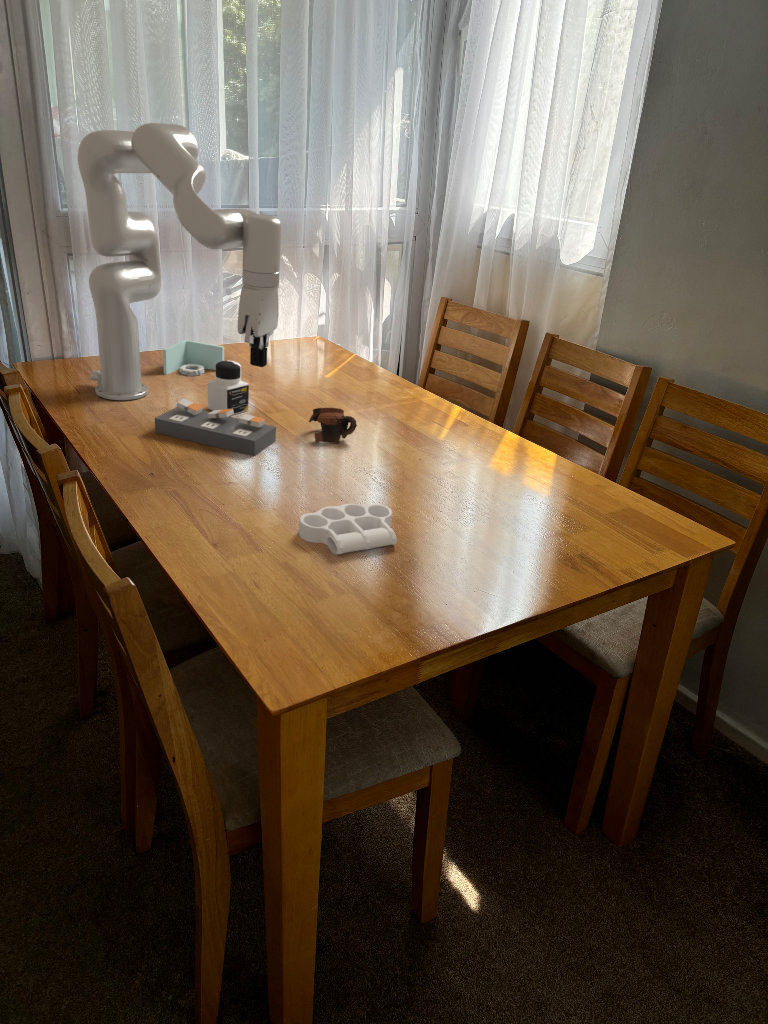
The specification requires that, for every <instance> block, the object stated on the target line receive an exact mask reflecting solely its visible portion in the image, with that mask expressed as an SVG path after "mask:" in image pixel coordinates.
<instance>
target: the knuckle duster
mask: <svg viewBox="0 0 768 1024" xmlns="http://www.w3.org/2000/svg"><path fill="white" fill-rule="evenodd" d="M392 519H393V510H392V509H391V508H390V507H389V506H386V505H385V504H381V503H375V502H373V503H369V504H359V503H344V504H341V505H337V506H335V505H334V506H332V505H327V506H325V507H322V508H321V507H320V509H319V510H317V511H315V512H310V513H304V514H301V515H300V517H299V524H298V535H299V537H300V538H301V539H302V540H304V541H306V542H309V543H314V544H315V543H317V544H320V543H321V544H324V545H326V546H327V547H328V548H329V551H330V552H331V553H332V554H334V555H342V554H347V553H353V552H358V551H359V552H360V551H365V550H370V549H375V548H381V547H385V546H387V547H388V546H393V545H396V544H397V543H398V542H397V541H398V539H397V535H396V533H395V531H394V529H393V528H390V527H391V526H392Z"/></svg>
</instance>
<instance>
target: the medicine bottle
mask: <svg viewBox="0 0 768 1024" xmlns="http://www.w3.org/2000/svg"><path fill="white" fill-rule="evenodd" d="M249 387H250V383H249V382H246V381H243V380H242V365H241V364H240V363H239V362H237V361H234V360H224V361H221V362H218V363H217V364H216V370H215V379H214V380H213V379H212V380H209V381H207V407H208V410H210V411H211V412H212V411H214V410H223V409H233V411H234V414H232V415H230V417H232V416H235V415H237V414H241V413H245V412H248V411H249V406H250V405H249V401H250V399H249V398H250V397H249V392H250V391H249V389H250V388H249Z"/></svg>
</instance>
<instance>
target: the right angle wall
mask: <svg viewBox="0 0 768 1024" xmlns="http://www.w3.org/2000/svg"><path fill="white" fill-rule="evenodd" d="M162 358H163V362H162V363H163V375H165V376H168V375H169V374H172V373H173V372H175V371H178V370H179V374H180V375H183V376H187V377H194V376H195V377H196V376H203V375H204V374H205V372H206V370H205V369H208V370H213V371H216V364H217V363H218V362H221V361H225V346H222V345H219V344H218V345H217V344H211V343H207V342H200V341H195V340H194V341H193V340H190V339H184V340H181V341H179V342H177V343H175V344H173V345H170V346H167V347H165V348H164V349H162Z"/></svg>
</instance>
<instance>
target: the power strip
mask: <svg viewBox="0 0 768 1024" xmlns="http://www.w3.org/2000/svg"><path fill="white" fill-rule="evenodd" d="M210 412H211V411H206V410H202V412H200V413H199V414H197V415H193V414H191V413H189V412H187V411H185V410H184V409H182V408H180V407H178V406H176V407H173V408H171V409H170V410H168V411H166V412H164V413H161V414H160V415H158V416H156V417H154V433H155V434H159V435H163V436H167V437H171V438H176V439H181V440H185V441H189V442H193V443H198V444H201V445H206V446H210V447H215V448H219V449H224V450H227V451H230V452H231V451H232V452H236V453H240V454H244V455H249V456H252V457H256V456H257V455H258V454H260V453H261V452H262V451H263V450H265V449H266V448H268V447H270V446H271V445H273V443H276V441H277V439H276V435H277V426H274V425H269V424H266V423H265V424H264V425H262V426H261V427H255V426H251V425H248V424H244V423H240V422H239V418H240V417H238V418H237V417H233V416H228V417H223V418H208V415H207V414H208V413H210Z"/></svg>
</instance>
